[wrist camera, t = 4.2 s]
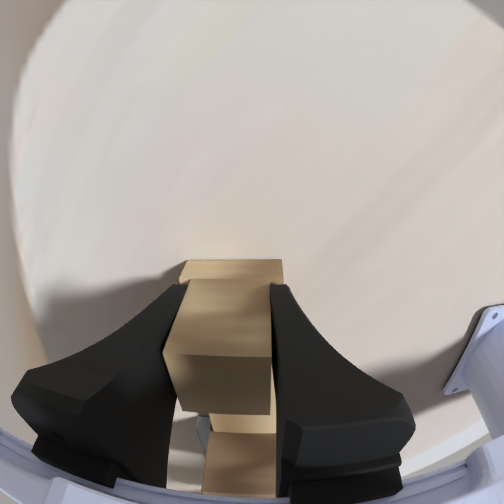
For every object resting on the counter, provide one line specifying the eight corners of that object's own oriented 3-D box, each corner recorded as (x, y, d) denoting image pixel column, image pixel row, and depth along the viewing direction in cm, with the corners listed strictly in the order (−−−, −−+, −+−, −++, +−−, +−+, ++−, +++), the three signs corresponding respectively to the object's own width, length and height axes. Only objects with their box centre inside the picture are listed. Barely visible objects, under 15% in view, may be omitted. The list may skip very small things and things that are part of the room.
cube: (280, 433, 16) (280, 494, 12) (277, 458, 18) (277, 509, 14) (209, 431, 16) (201, 490, 12) (218, 457, 18) (212, 506, 14)
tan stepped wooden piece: (281, 259, 12) (290, 356, 8) (274, 441, 20) (274, 502, 15) (187, 260, 13) (146, 351, 8) (222, 440, 20) (215, 500, 15)
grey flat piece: (375, 410, 18) (380, 427, 16) (340, 472, 23) (342, 484, 22) (197, 416, 18) (194, 433, 17) (219, 475, 24) (217, 487, 23)
